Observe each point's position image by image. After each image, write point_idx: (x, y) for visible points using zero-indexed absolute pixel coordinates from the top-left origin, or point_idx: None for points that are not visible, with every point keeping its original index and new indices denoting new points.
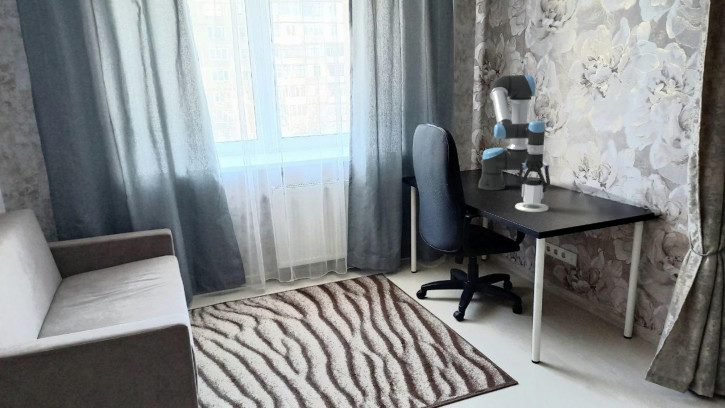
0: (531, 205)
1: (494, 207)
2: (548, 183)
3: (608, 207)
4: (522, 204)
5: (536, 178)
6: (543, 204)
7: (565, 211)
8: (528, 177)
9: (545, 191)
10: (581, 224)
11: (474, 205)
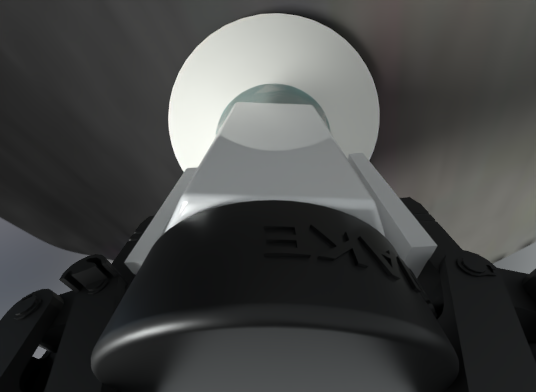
0: None
1: (129, 224)
2: (533, 341)
3: None
4: (206, 137)
5: (324, 376)
6: (334, 43)
7: (491, 104)
8: (109, 370)
9: (413, 206)
10: (507, 251)
11: (52, 237)
